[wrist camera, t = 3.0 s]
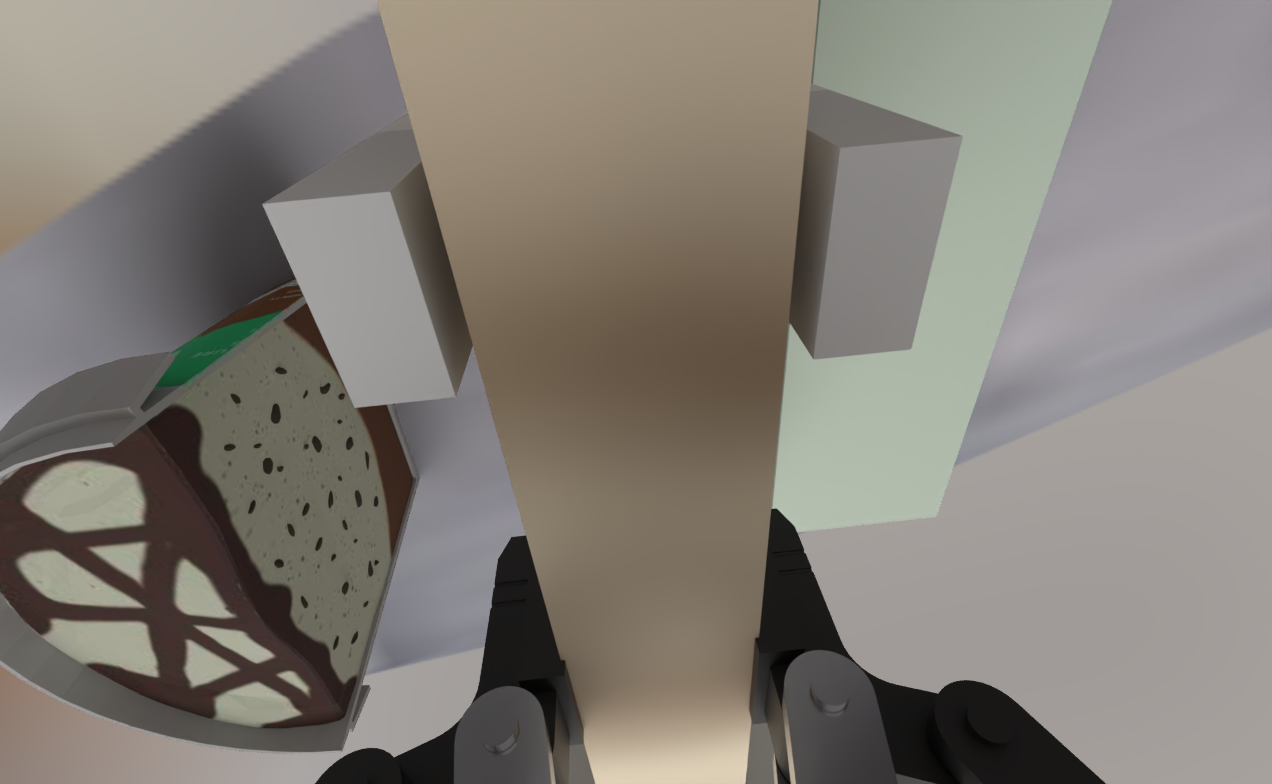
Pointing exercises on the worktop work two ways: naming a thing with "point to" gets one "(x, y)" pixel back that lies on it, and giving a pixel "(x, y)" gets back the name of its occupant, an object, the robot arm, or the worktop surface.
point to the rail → (627, 326)
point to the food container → (205, 537)
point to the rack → (434, 318)
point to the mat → (966, 248)
